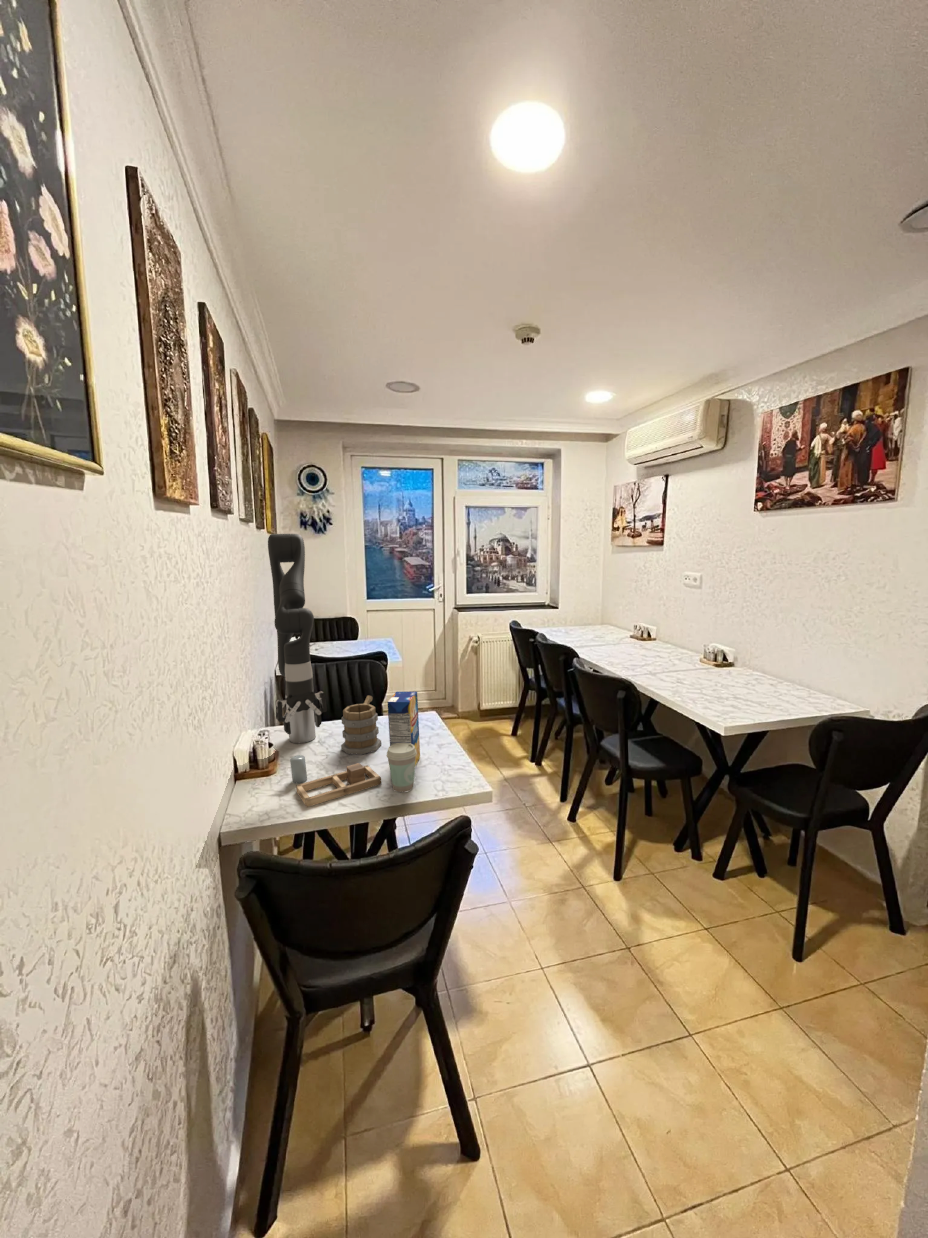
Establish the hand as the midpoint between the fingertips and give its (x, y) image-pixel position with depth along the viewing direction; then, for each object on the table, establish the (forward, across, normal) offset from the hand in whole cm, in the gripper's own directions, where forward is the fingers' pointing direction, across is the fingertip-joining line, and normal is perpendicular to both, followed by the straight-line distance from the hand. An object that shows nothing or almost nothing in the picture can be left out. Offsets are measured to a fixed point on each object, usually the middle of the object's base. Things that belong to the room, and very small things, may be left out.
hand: (303, 730), depth 146 cm
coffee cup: (+15, -20, +23) cm, 34 cm away
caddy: (+15, -6, +11) cm, 20 cm away
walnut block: (+15, -11, +12) cm, 22 cm away
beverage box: (+16, -29, +9) cm, 34 cm away
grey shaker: (+16, +2, -1) cm, 16 cm away
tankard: (+16, -25, -15) cm, 34 cm away
